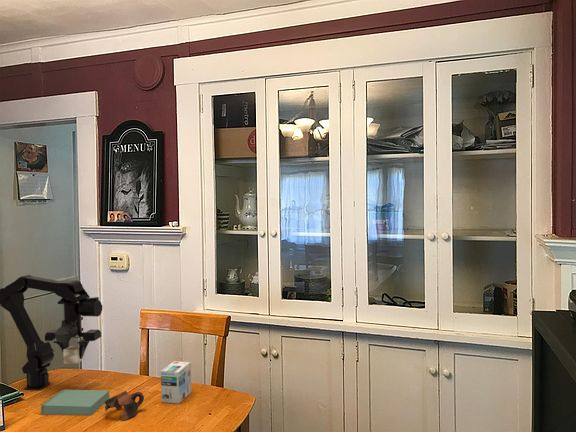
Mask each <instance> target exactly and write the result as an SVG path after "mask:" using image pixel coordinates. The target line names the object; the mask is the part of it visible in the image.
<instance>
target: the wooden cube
mask: <svg viewBox="0 0 576 432" xmlns="http://www.w3.org/2000/svg"><path fill="white" fill-rule="evenodd" d="M62 353H63V364H65V365H66V364H67V365H68V364H69V365H71V364H72V365H77V364H79V363H81V362H82V361H84V360H85V354H84V355H83V357H82V359H80V356H79V345H69V347H67V348H66V349H64V350H63V352H62Z"/></svg>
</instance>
